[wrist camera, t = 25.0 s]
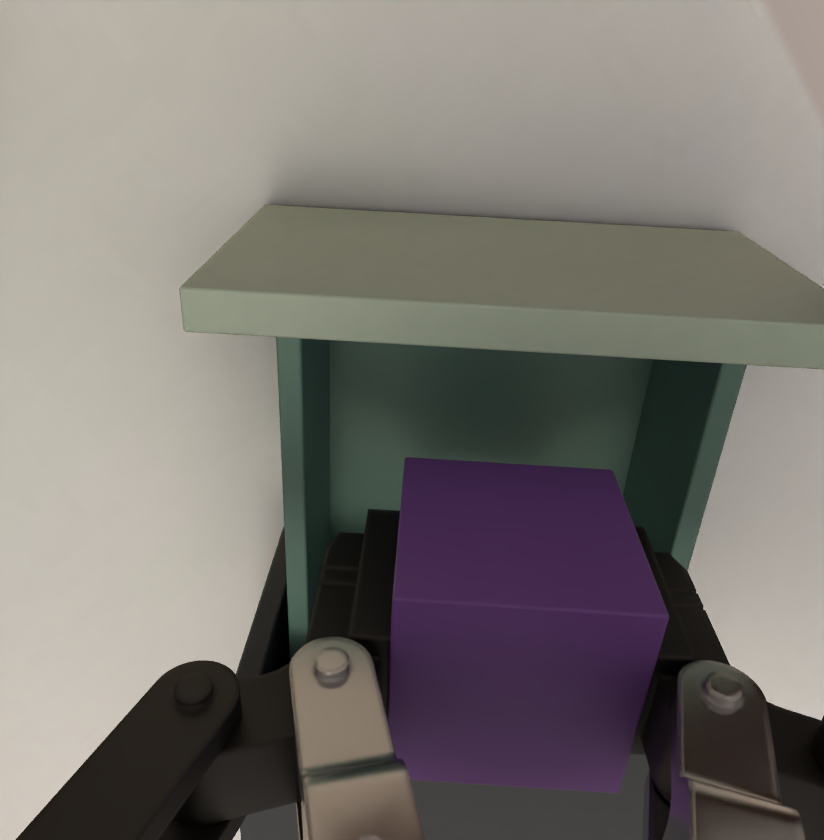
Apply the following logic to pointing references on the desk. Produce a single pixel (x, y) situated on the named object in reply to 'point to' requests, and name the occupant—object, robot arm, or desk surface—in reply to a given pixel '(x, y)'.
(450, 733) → the purple matte cube
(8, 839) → the desk surface
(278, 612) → the housing
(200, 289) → the sliding matchbox
